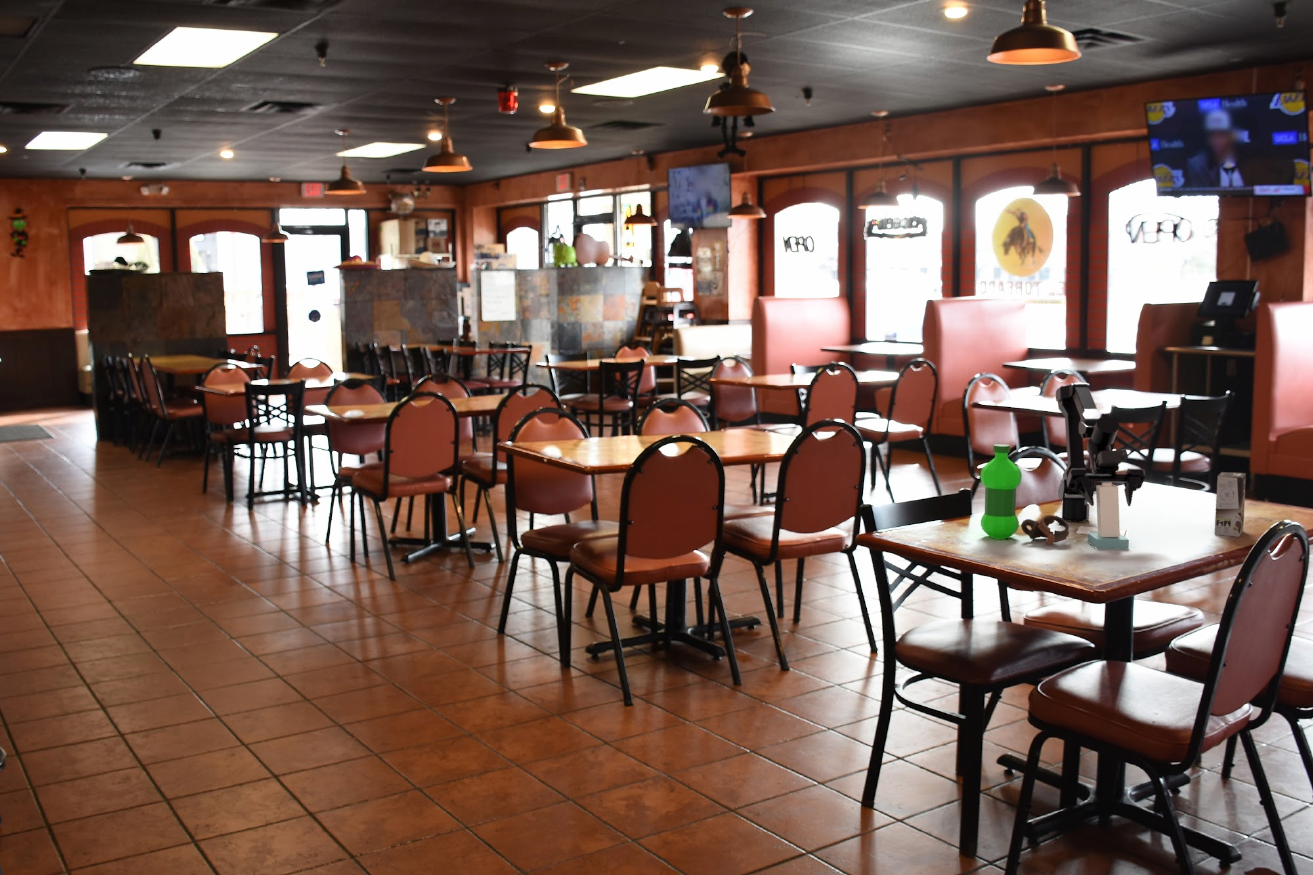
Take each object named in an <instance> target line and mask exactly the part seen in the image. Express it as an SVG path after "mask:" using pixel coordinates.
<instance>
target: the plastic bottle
mask: <svg viewBox="0 0 1313 875" xmlns="http://www.w3.org/2000/svg"><path fill="white" fill-rule="evenodd" d="M992 446H993V447H992V452H993V453H994V458H993V459H991V460H989V462H988V463H987V464H986V465H984V466H983V467H982V469H981V470H980V483H981V484H982V485H983V486H984V513H983V514H982V516H981V520H980V526H981V528H982V531H983V532H984V533H985V534H986V535H987V536H988V537H989V538H990V539H993V538H994V540H1007V539H1006V538H1008V539H1010V537H1012V536H1013V535H1014V534H1015V533H1016V532H1017V531H1018V529H1019V527H1020V521H1019V519H1018V516H1017V515H1016V510H1017V508H1016V504H1017V503H1016V502H1017V487H1019V486H1020V485H1021V481H1022V472H1021V468H1019V466H1017V465H1016V464H1015V463H1014V462H1013V461H1011V460H1010V459H1009V457H1008V454H1009V453H1010V452H1011V445H1010V444H1005V443H1004V444H1003V443H1000V444H999V443H996V444H993V445H992Z"/></svg>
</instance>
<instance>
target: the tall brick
mask: <svg viewBox="0 0 1313 875" xmlns="http://www.w3.org/2000/svg"><path fill="white" fill-rule="evenodd" d="M1095 490H1096V492H1095V493H1096V519H1097V520H1096V522H1097V528H1098V535H1099V536H1100V537H1120V529H1121V528H1120V504H1119V502H1120V501H1119V500H1120V499H1119V486H1117V485H1115V484H1113V482H1101V484H1095Z"/></svg>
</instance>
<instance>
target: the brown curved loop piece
mask: <svg viewBox="0 0 1313 875" xmlns="http://www.w3.org/2000/svg"><path fill="white" fill-rule="evenodd" d="M1055 522H1056V523H1058V526H1060V527H1064V529H1063V530H1054V531H1051V528H1050V526H1049V525H1053V524H1054V523H1055ZM1020 527H1021V530H1022V532H1023V533H1024V534H1025V535H1027V536H1028V537H1029V539H1030V540H1032V539H1034V540H1035V539H1037V538H1045V539H1046V540H1045V545H1047V546H1049V545H1052V546H1053V545H1054V543H1055V544H1057V543H1059V542H1061V541H1064V540H1066V539H1067V538H1068V537H1069V535H1070V532H1069V529H1070V525H1069V523H1068V521H1065V520H1064V519H1062V517H1059V516H1057V515H1055V514H1054V515H1053V514H1045V515H1043V516H1042V517H1041V518H1039V519H1038V520H1033V519H1030V518H1027V519H1025V520H1023V521H1022V522H1021V524H1020ZM1028 527H1030V529H1029V528H1028Z"/></svg>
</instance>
